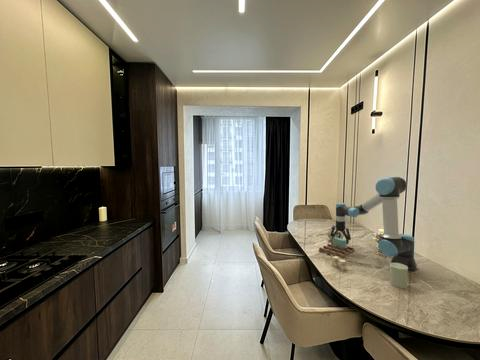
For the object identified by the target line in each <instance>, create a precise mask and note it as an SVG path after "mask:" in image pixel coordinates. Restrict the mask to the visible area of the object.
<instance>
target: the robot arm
mask: <svg viewBox="0 0 480 360" xmlns="http://www.w3.org/2000/svg"><path fill="white" fill-rule="evenodd" d="M407 188H408V183H407V182H406V180H405V179H404V178H402V177H400V176H398V177H397V176H394V177H389V176H388V177H382V178H380V179H379V180H377V181H376V183H375V190H376V194H375V195H373V196H372V197H370V198H368V199H367V200H366V201H364V202H362V203H361V204H360V205H356V206H347V205H346V203H344V202H336V204H335V224H333V225H332V227H331V228H332V231H331V234H330V235H331V236H332V238H333V239H332V240H333V241H332V242H333V244H334V238H336V237H335V235H336V234H337V232H338V231H341V232H342V233H343V234H344V238H345V239H344V240H345V248H347V247H348V246H349V243H350V242H349V241H351V240H352V236H351V233H350V227H346V216H348V217H351V218H357V217H358V216H361V215H362V216H363V215H366V214H367V215H368V213H369V211H371V210H373V209H374V208H376V207H378V206H379V205H381V206H382V220H383V221H382V223H383V233H382V234H381V237H380V238H381V239H380V240H379V241H378V244H377V245H378V246H377V247H378V249H379V252H380V253H382V254H383V255H384V256H386V257H387V258H388V257H389V258H390V257H391V260H390V263H400V264H403V265H406V266H407V267H408V272H413V271H416V270H417V269H418V265H417V261H416V260H415V237H414V236H412V235H409V234H405V233H400V231H399V230H400V229H399V213H398V212H399V211H398V199H399V198H400V195H401V194H402V193H403V192H405V191H406V190H407ZM335 229H336V231H335V232H334V230H335ZM333 233H334V234H333Z"/></svg>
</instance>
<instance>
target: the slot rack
mask: <svg viewBox="0 0 480 360" xmlns="http://www.w3.org/2000/svg"><path fill="white" fill-rule="evenodd" d="M318 251H320V252H319V253H322V252H323V253H322V254H325V253H326V254H325V255H328V254H329V255H328V256H331V255H332V256H331V257H333V256H337V257H339V258H341V259H343V258H345V257H346V255H347V256H348V255H350V254H351V253H352V254H353V252H355V251H356V250H355V247H352V246H349V245H348V247H347V248H342V247H339V246H335V245H334V244H333V241H331V242H330V243H327V245H323V246H322V247H320V246H319V247H318V250H317V252H318Z"/></svg>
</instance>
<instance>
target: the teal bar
mask: <svg viewBox="0 0 480 360" xmlns="http://www.w3.org/2000/svg"><path fill="white" fill-rule="evenodd" d="M345 240H346V239H340V238H334V245H335V246H339V247H342V248H345Z"/></svg>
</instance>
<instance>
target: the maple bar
mask: <svg viewBox="0 0 480 360" xmlns="http://www.w3.org/2000/svg"><path fill="white" fill-rule="evenodd" d="M331 265H332V266H334V267H336V268H338V269H339V270H341V271H345V270H347V260H345V259H343V258H339V257H337V256H331Z"/></svg>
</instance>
